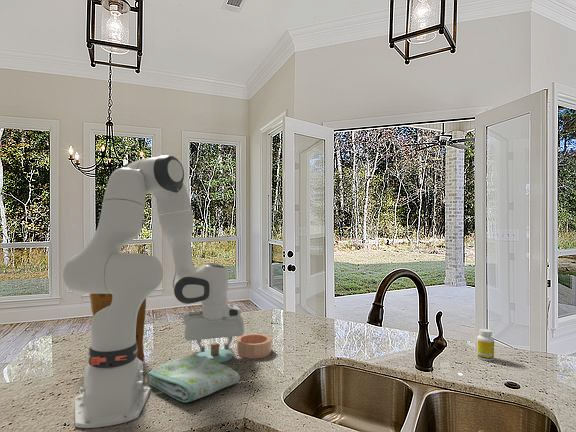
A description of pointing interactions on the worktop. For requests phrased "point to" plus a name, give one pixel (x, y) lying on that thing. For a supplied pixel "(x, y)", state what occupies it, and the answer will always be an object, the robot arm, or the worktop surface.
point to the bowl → (253, 345)
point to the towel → (192, 377)
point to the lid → (217, 354)
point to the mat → (234, 360)
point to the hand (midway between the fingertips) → (214, 350)
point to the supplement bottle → (485, 345)
